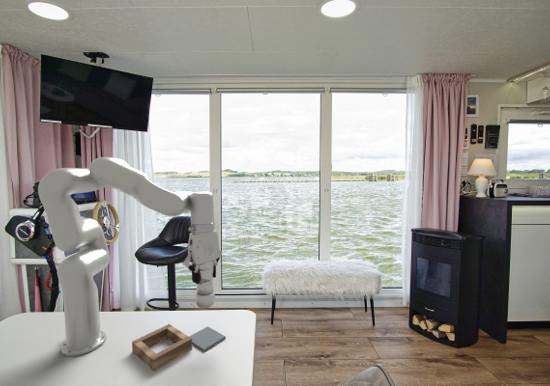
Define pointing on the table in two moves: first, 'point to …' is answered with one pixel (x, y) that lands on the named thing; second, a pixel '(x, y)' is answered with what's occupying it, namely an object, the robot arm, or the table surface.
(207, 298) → the plastic bottle
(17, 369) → the table surface
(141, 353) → the wooden frame
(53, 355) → the table surface
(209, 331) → the rubber mat
